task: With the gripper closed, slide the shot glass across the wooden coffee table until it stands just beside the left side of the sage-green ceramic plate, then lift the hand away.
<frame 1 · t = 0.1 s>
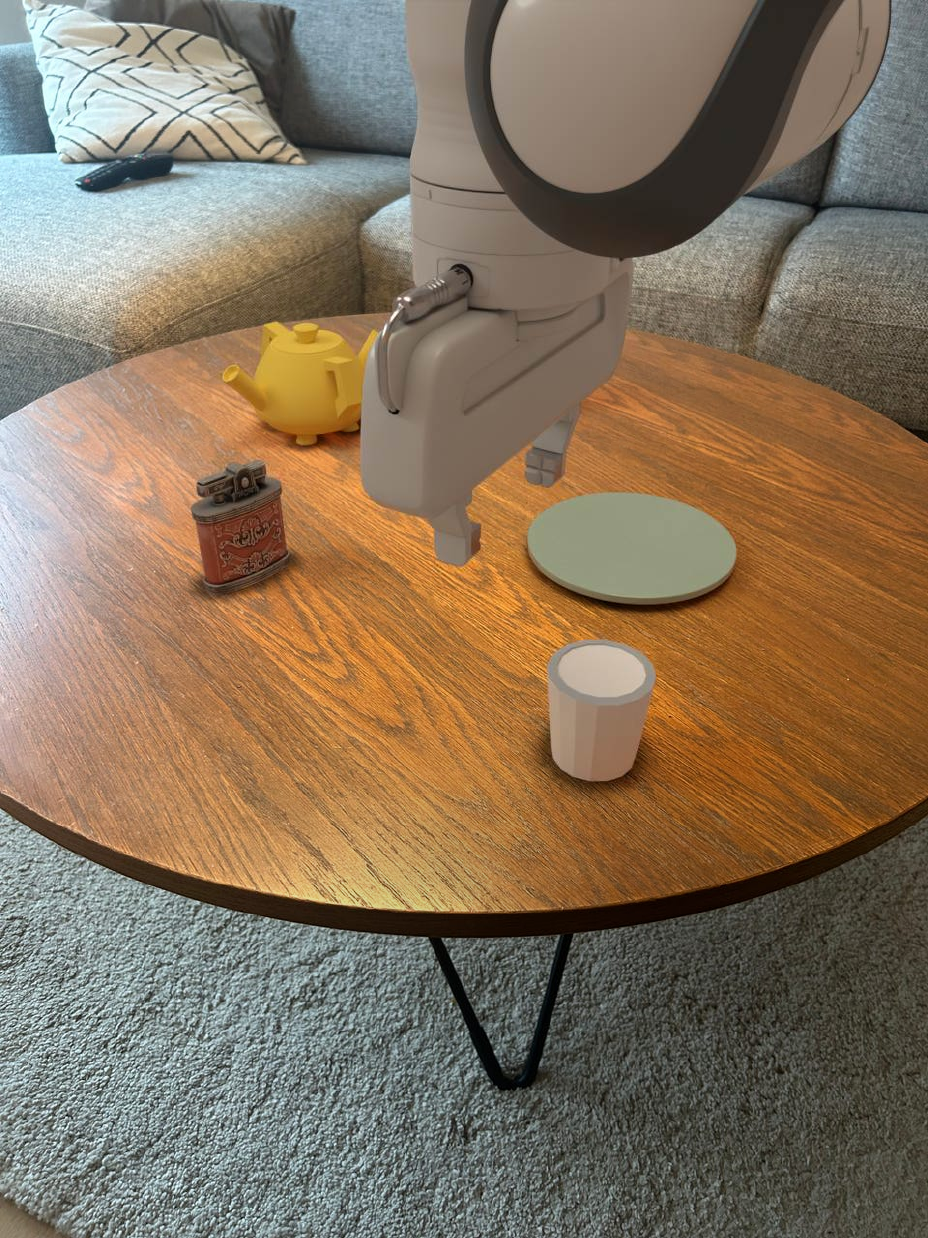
hand: (503, 516, 52), 20 cm above the table, tool pointing down, fingers open, 8 cm apart
shot glass: (592, 754, 67), on the table
plate: (629, 555, 88), on the table
flower: (539, 403, 116), on the table
lighter: (248, 575, 86), on the table
teapot: (314, 427, 110), on the table
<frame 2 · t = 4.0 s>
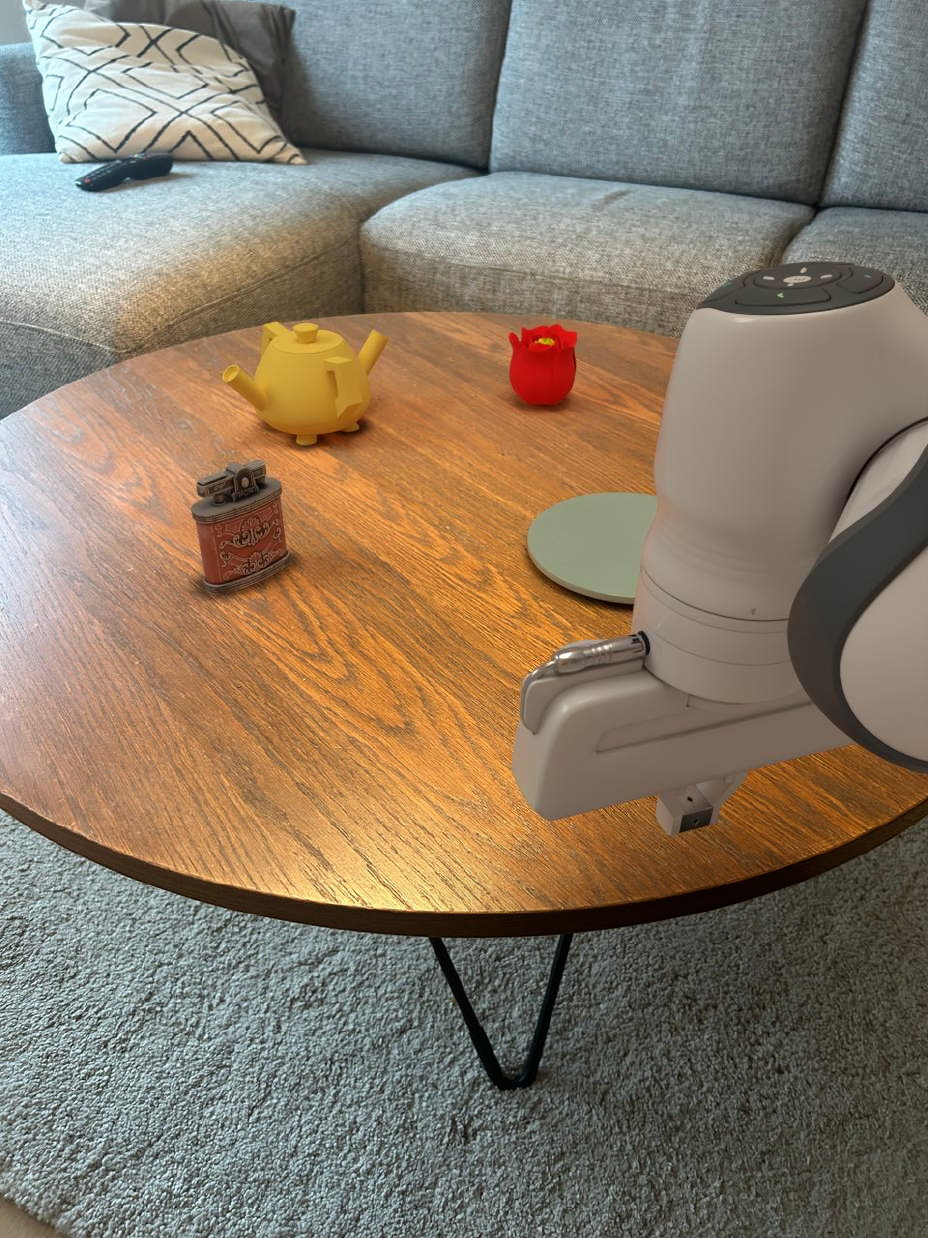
hand: (685, 822, 55), 5 cm above the table, tool pointing down, fingers closed
nothing on the table moved.
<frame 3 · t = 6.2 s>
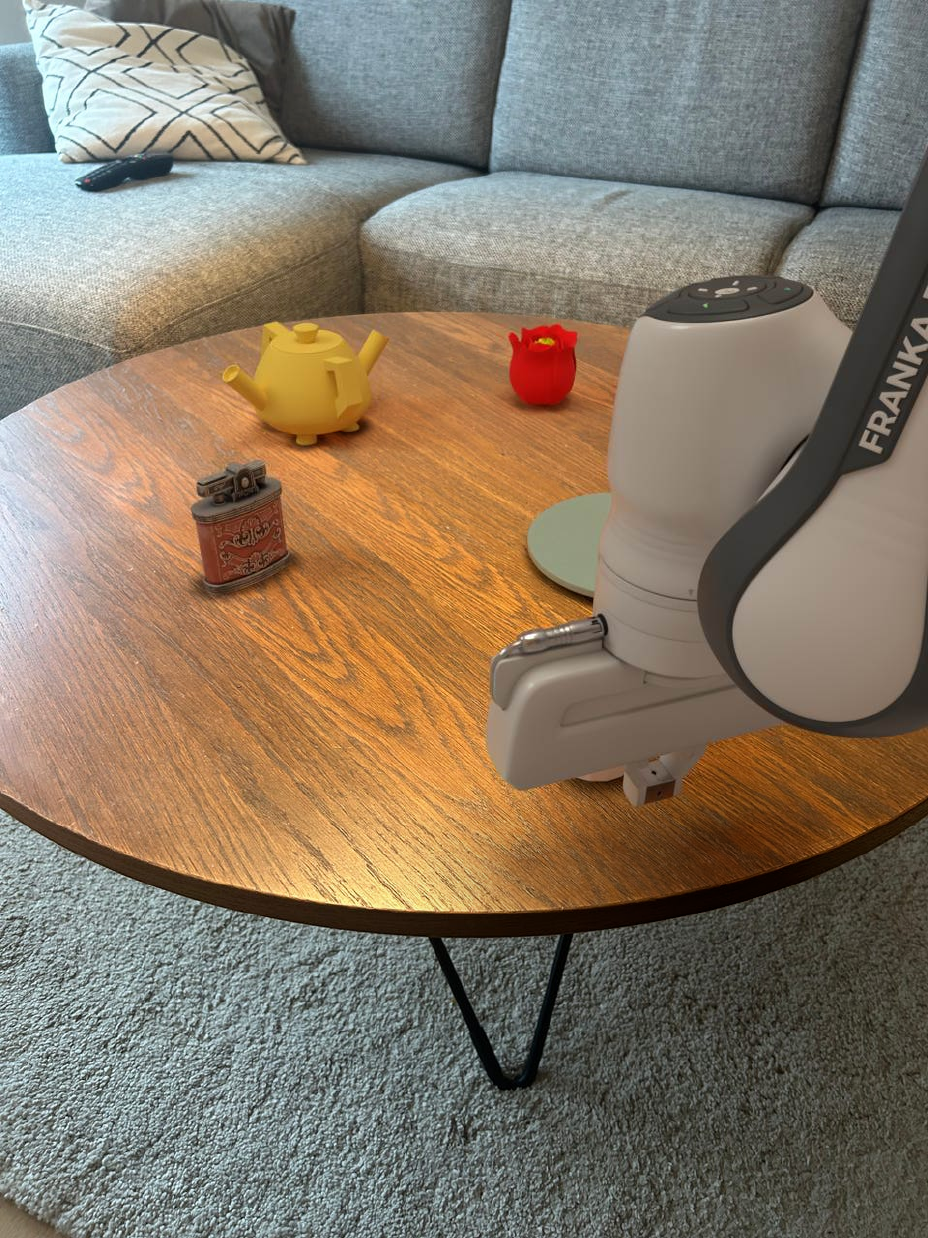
hand: (650, 794, 59), 3 cm above the table, tool pointing down, fingers closed
nothing on the table moved.
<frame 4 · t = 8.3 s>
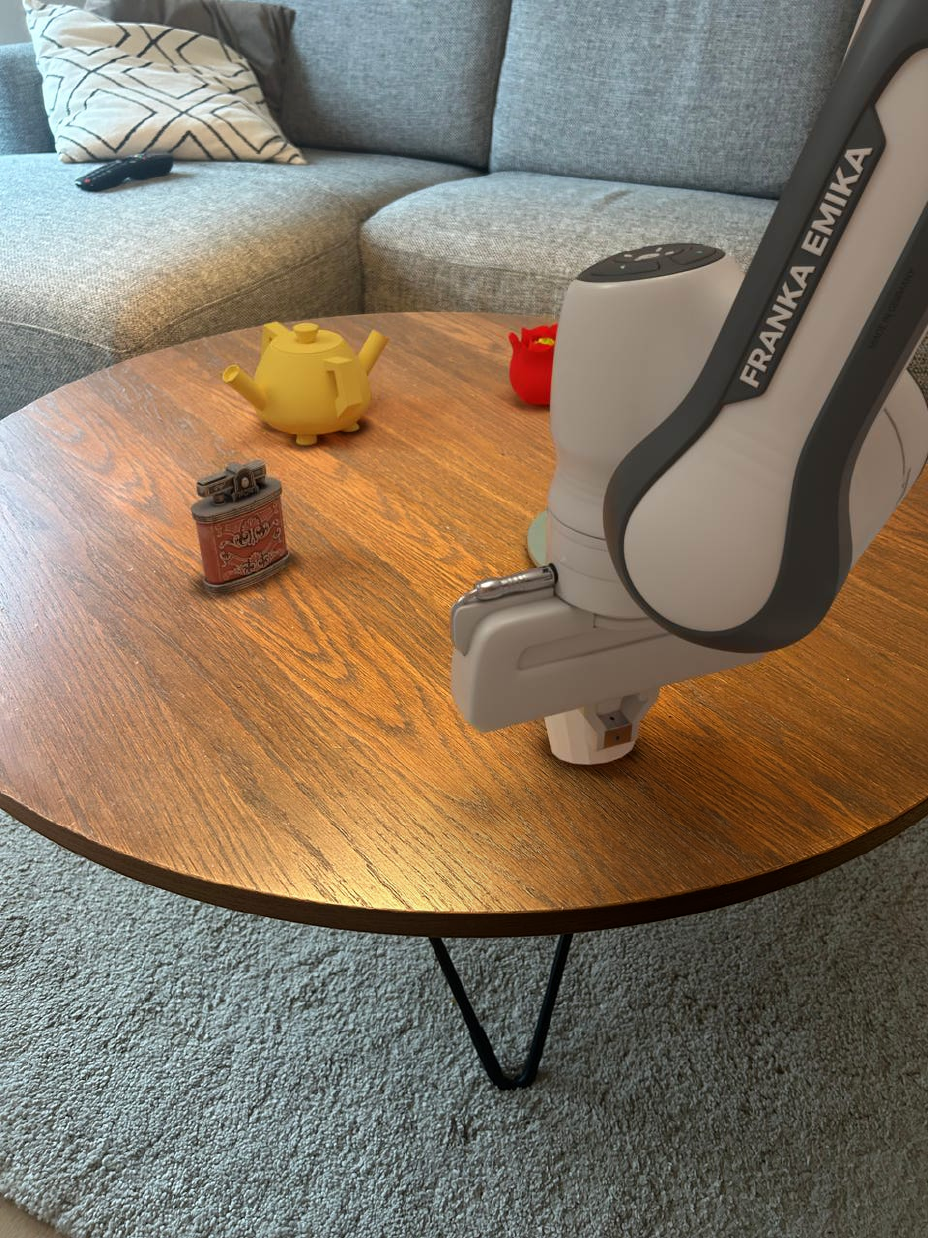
hand: (610, 740, 63), 3 cm above the table, tool pointing down, fingers closed, pressing on shot glass
shot glass: (592, 746, 67), on the table, touching gripper
everything else where it was.
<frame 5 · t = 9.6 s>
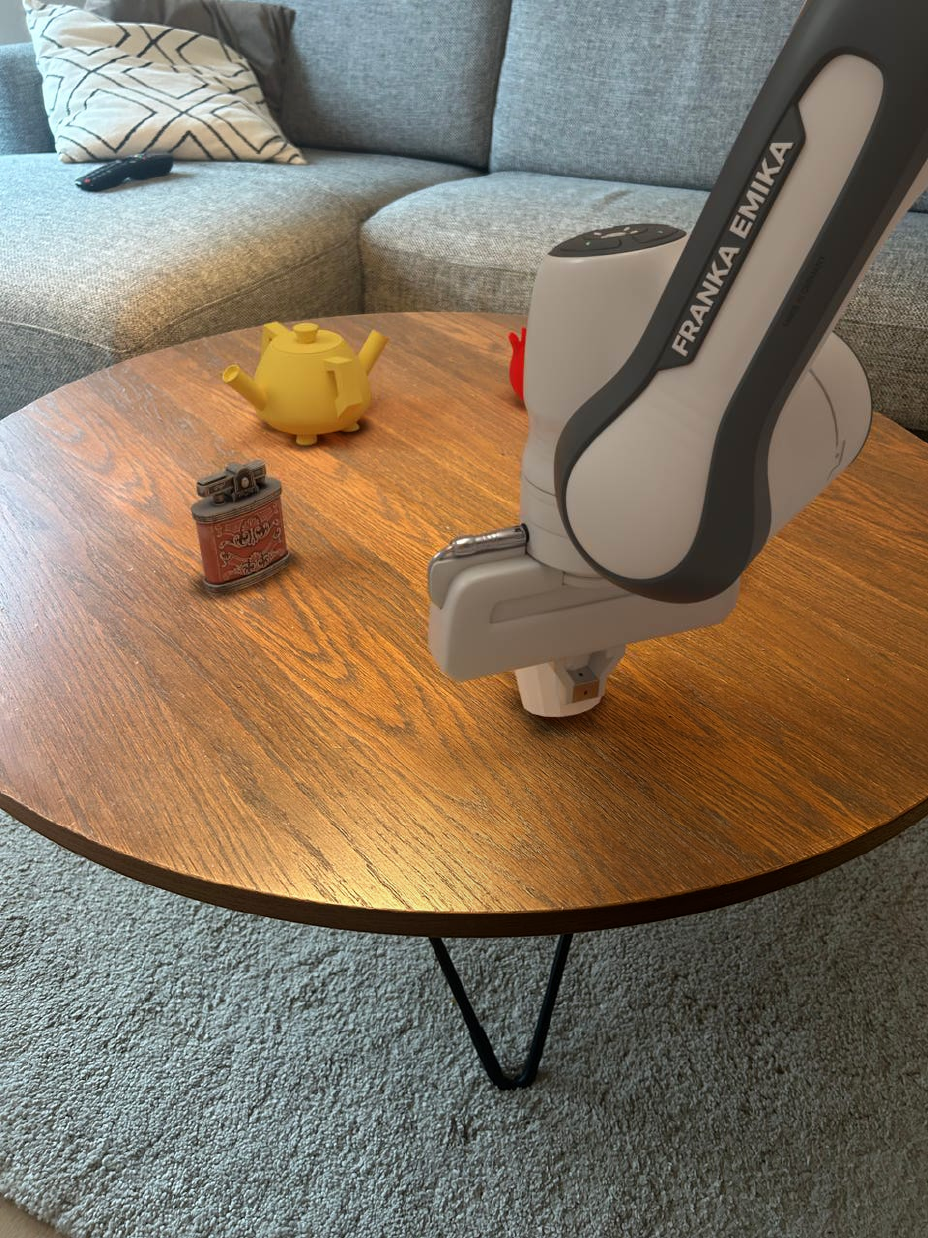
hand: (579, 695, 67), 3 cm above the table, tool pointing down, fingers closed, pressing on shot glass
shot glass: (561, 701, 71), point 1 cm above the table, touching gripper
everything else where it was.
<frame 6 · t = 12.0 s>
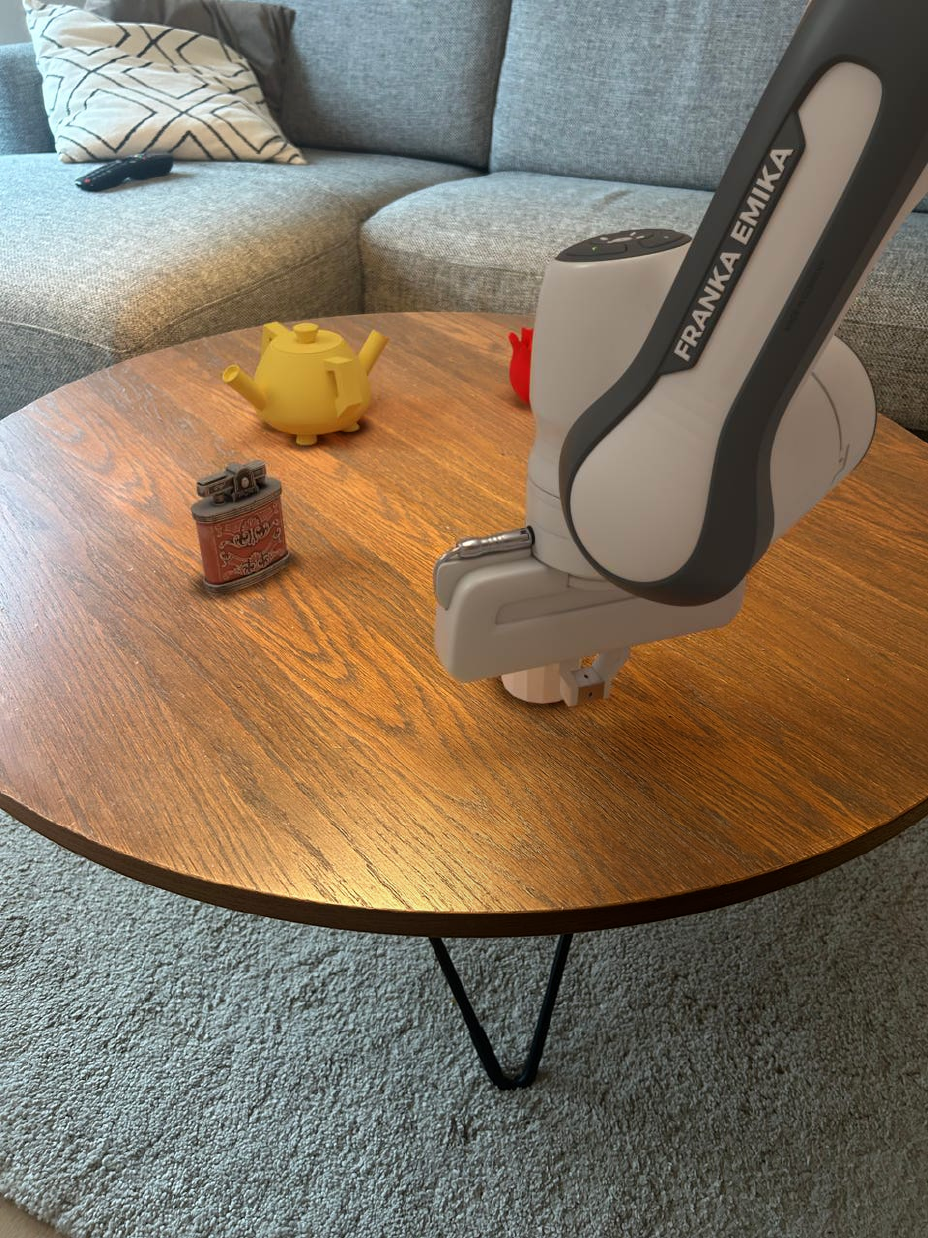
hand: (584, 697, 67), 3 cm above the table, tool pointing down, fingers closed
shot glass: (539, 681, 74), on the table
everything else where it was.
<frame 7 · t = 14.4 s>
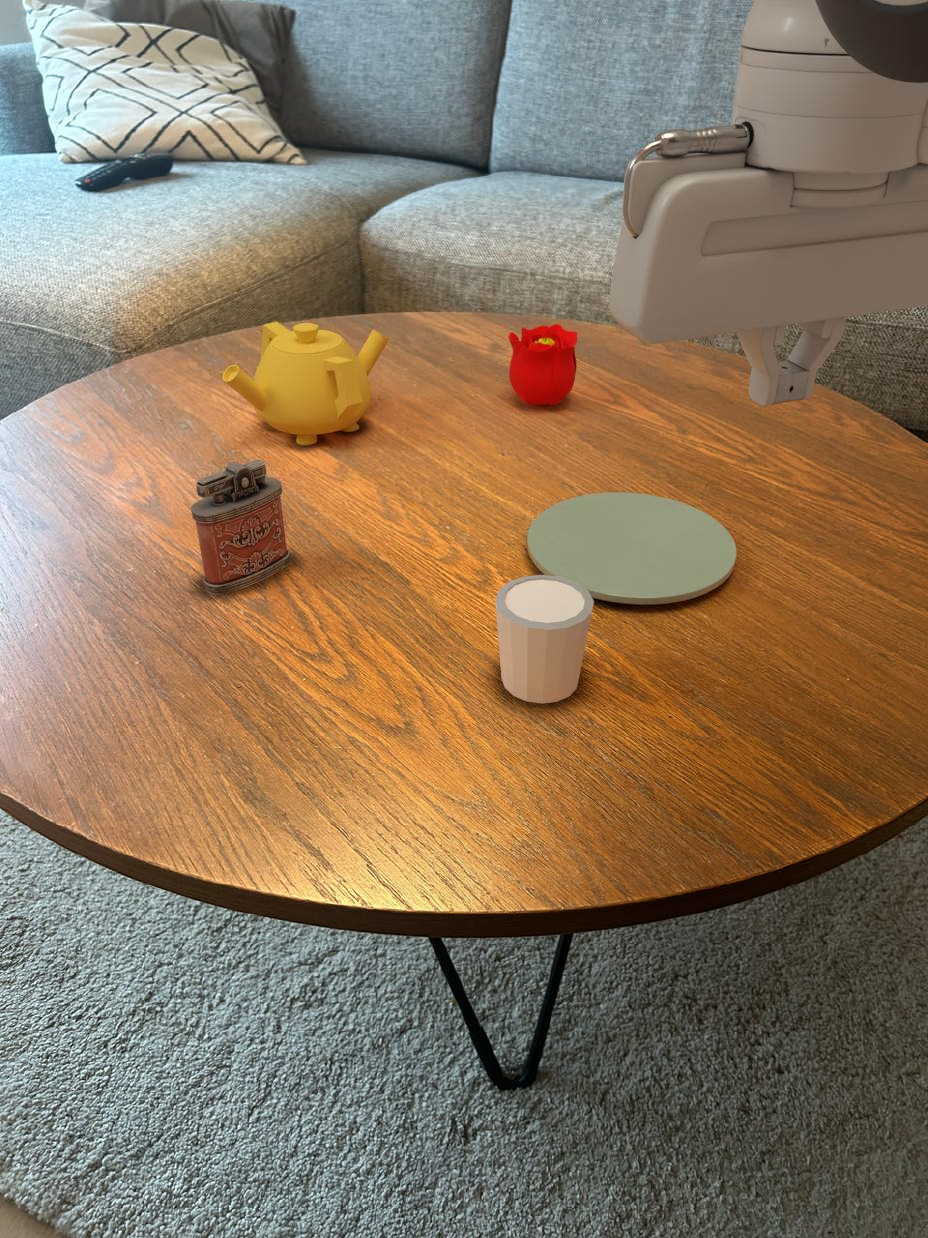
hand: (778, 399, 55), 24 cm above the table, tool pointing down, fingers closed
nothing on the table moved.
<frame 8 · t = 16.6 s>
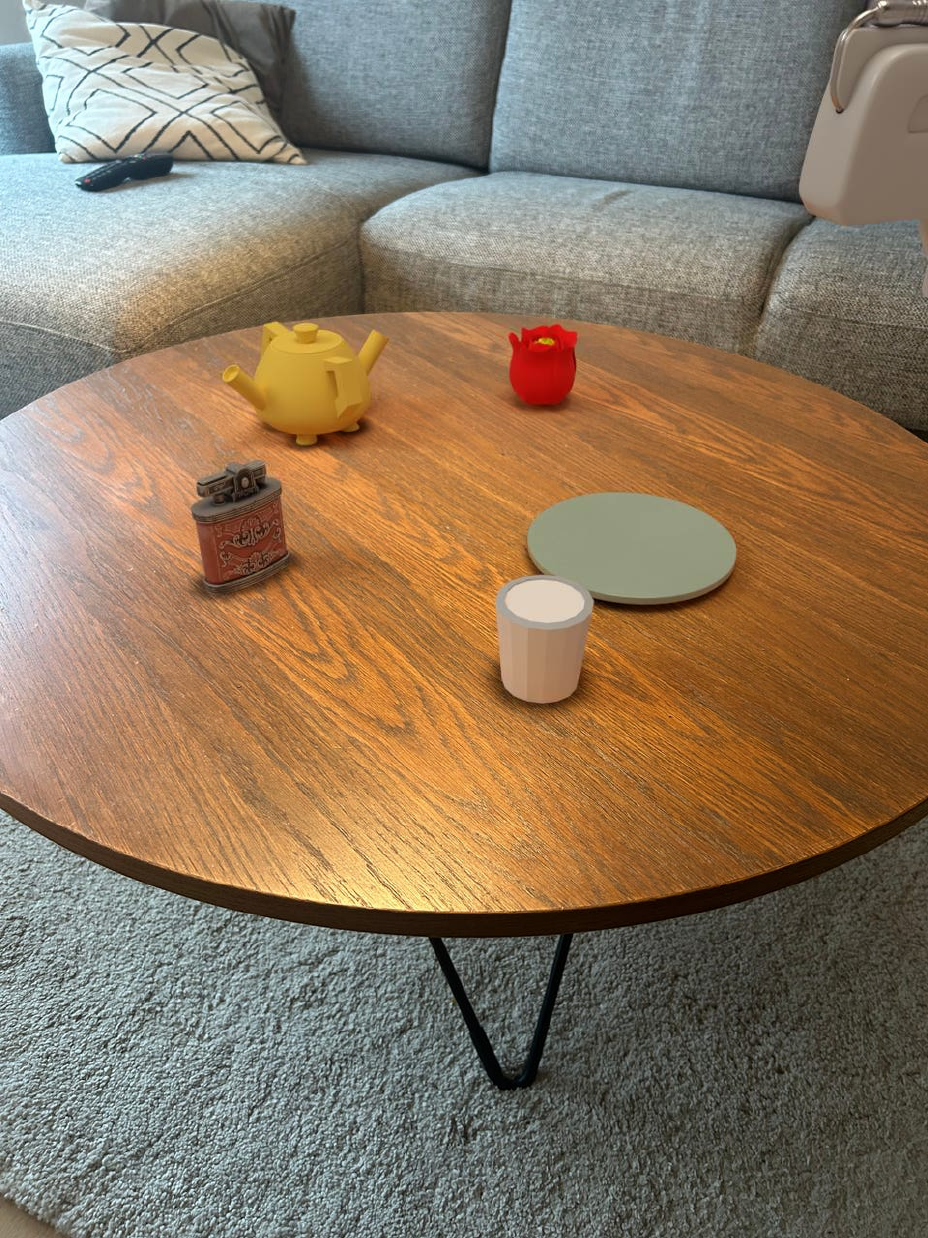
nothing on the table moved.
at the end: shot glass inside the target area on the table beside the plate (7.6 cm from its centre), on the table; shot glass tilted 0°; shot glass moved 8.5 cm from its start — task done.
